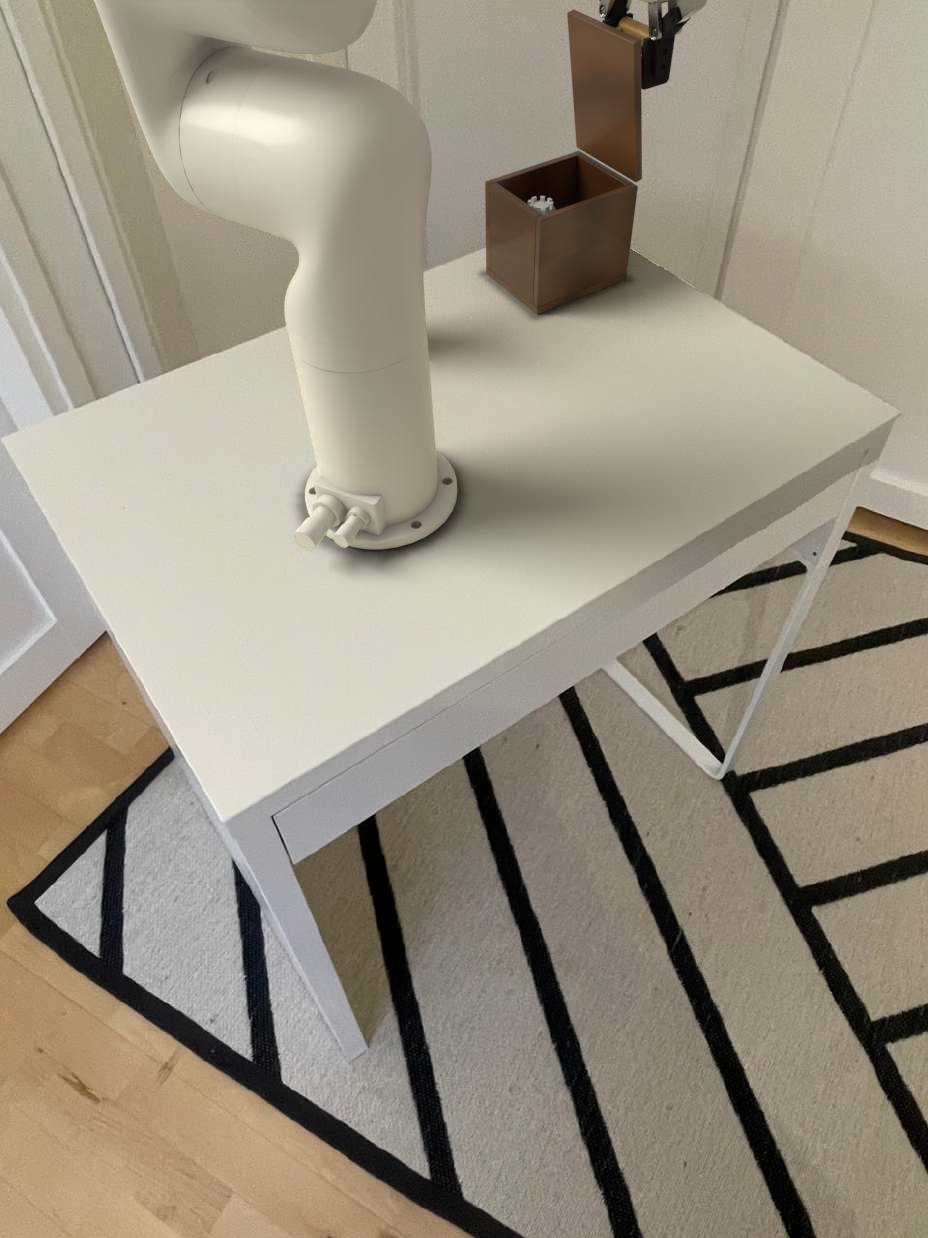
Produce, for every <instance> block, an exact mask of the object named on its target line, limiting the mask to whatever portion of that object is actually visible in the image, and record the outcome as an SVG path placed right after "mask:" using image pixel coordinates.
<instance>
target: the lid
mask: <svg viewBox="0 0 928 1238" xmlns="http://www.w3.org/2000/svg"><path fill="white" fill-rule="evenodd" d="M566 14H567V15H566V16H567V17H566V18H567V30H568V31H567V32H568V45H569V58H570V60H569V61H570V73H571V87H572V101H573V116H574V130H575V143H576V148H577V149H579V151H581V152H583V153H585V154H586V155H588V156H590V157H591V158H593V159H595V160H596V161H598V162H600V163H601V164H602V163H603V165H605V166H606V167H608V168H610V169H611V170H612V169H613V171H615V172H616V173H618V174H620V175H621V176H623V177H625V178H626V179H628V180H630V181H631V182H633V183H638V182H640V181H642V179H643V141H642V140H643V129H642V128H643V124H642V122H643V120H642V119H643V118H642V114H643V112H642V111H643V109H642V108H643V107H642V89H641V55H642V46H643V41H644V39H645V38H648V37H650V36H649V24H648V25H647V24H646V23H643V22H641V21H639V20H637V19H634V18H633V19H632V18H630V17H627V16H625V17H623V18H622V19H621V20H620V21H619V23H618V26H617V27H616V28H614V27H612V26H609V25H607V24H605V23H603V22H602V20H598V19H596V18H595V17H592V16H589V15H588V14H585V13H583V12H581V11H578V10H577V9H572V10H569V11H567V13H566Z"/></svg>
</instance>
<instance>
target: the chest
mask: <svg viewBox="0 0 928 1238" xmlns="http://www.w3.org/2000/svg"><path fill="white" fill-rule="evenodd" d="M638 188H639V186H638V185H637V184H635V182H633V181H632V180H630V179H628V178H627V177H625V176H623V175H622V174H620V173H618V172H617V171H615V170H612V168H610V167H608V166H607V165H605V164H602V162H600V161H598V160H597V159H595V158H593V157H592V156H590V155H588V154H587V153H585V152H583V151H581V150H577V151H573V152H570V153H567V154H564V155H561V156H557V157H555V158H552V159H549V160H546V161H543V162H540V163H536V164H534V165H530V166H528V167H525V168H523V169H522V168H521V169H519V170H515V171H513V172H510V173H507V174H504V175H501V176H497V177H494V178H492V179H491V178H490V179H489V180H485V182H484V193H485V194H484V197H485V198H484V201H485V203H484V205H485V273H486V275H487V276H489V278H491V279H492V280H494V281H495V282H496V283H497V284H499V285H500V286H501V287H502V288H503V289H505V290H506V291H507V292H508V293H510V294H511V295H512V296H514V298H516V299H517V300H518V301H520V302H521V303H522V304H523V305H525V306H526V307H527V308H528V309H530V310H531V311H532V312H533V313H535V314H536V315H539V314H542V313H545V312H547V311H550V310H552V309H555V308H558V307H560V306H563V305H565V304H568V303H570V302H573V301H575V300H577V299H580V298H583V297H585V296H588V295H591V294H593V293H595V292H598V291H600V290H603V289H605V288H608V287H610V286H613V285H615V284H618V283H621V282H622V281H625V280H627V277H628V268H629V261H630V253H631V246H632V238H633V228H634V222H635V214H636V207H637V206H636V205H637V197H638V190H639V189H638ZM535 196H536V197H537V201H539V200H540V196H545V201H547V199H548V198H549V197H550V198H551V199H552V202H553V206H554V207H555V209H556V211H553V212H550V213H547V214H545V215H542V214H541V213H540V212H538V211H537V210H535V209H534V208H532V207H531V206H529V205H528V200H531V198H532V197H535Z"/></svg>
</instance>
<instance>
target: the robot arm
mask: <svg viewBox="0 0 928 1238" xmlns="http://www.w3.org/2000/svg"><path fill="white" fill-rule="evenodd" d="M377 1H378V0H93V2H94V5H95V7H96V10H97V14H98V16H99V18H100V21H101V25H102V26H103V30H104V32H105V34H106V37H107V40H108V42H109V45H110V48H111V50H112V54H113V57H114V58H115V62H116V64H117V67H118V70H119V73H120V74H121V78H122V80H123V83H124V85H125V88H126V91H127V94H128V96H129V98H130V101H131V105H132V107H133V110H134V112H135V114H136V118H137V120H138V122H139V126H140V128H141V130H142V133H143V135H144V138H145V140H146V143H147V145H148V148H149V150H150V153H151V155H152V157H153V159H154V161H155V163H156V165H157V167H158V168H159V171H160V172H161V174H162V176H163V177H164V178H165V180H166V182H167V183H168V184H169V186H170V187H171V188H172V190H174V192H176V194H177V195H178V196H180V197H181V198H182V200H184V201H185V202H187V203H188V204H190V205H192V206H193V207H195V208H196V209H199V210H201V211H203V212H205V213H208V214H210V215H213V216H215V217H218V218H221V219H224V220H226V221H230V222H234V223H236V224H241V225H243V226H246V227H250V228H254V229H256V230H259V231H262V232H265V233H267V234H269V235H272V236H274V237H278V238H280V239H283V240H284V241H285V240H286V241H288V242H289V243H291V244H292V245H293V246H294V247H295V249H296V251H297V255H298V266H297V268H296V271H295V273H294V274H293V277H292V278H291V280H290V282H289V283H288V286H287V289H286V292H285V297H284V307H283V309H284V321H285V327H286V332H287V336H288V341H289V345H290V349H291V354H292V358H293V362H294V366H295V371H296V376H297V380H298V385H299V389H300V394H301V399H302V403H303V407H304V412H305V417H306V422H307V426H308V430H309V431H308V432H309V435H310V440H311V444H312V448H313V453H314V458H315V463H316V466H315V467H314V469H313V470H312V471H311V473H310V475H309V477H308V478H307V481H306V485H305V488H304V501H305V506H306V510H307V513H308V517H306V518H305V520H304V521H303V522H302V523H301V525H299V527H298V528H297V530H295V532H294V533H293V535H292V537H293V540H294V542H295V543H296V544H297V546H299V547H300V548H301V549H302V550H305V551H309V552H313V551H314V550H315V549H316V548H317V547H318V546H319V545H320V543H321V542H322V541H323V540H324V538H325V537H327V538H329V539H331V540H332V541H333V542H334V543H335V544H336V545H337V546H339V547H340V548H343V549H347V548H348V547H351V548H356V549H363V550H388V549H395V548H399V547H403V546H406V545H407V546H408V545H410V544H413V543H415V542H417V541H418V542H419V540H422V539H424V538H426V537H428V536H430V535H431V534H432V533H434V532H436V531H437V530H438V529H439V528H440V527H441V526H442V525H443V524H444V523H446V521H447V520H448V518H449V517H450V516H451V514H452V513H453V511H454V508H455V506H456V503H457V499H458V479H457V476H456V472H455V469H454V467H453V466H452V464H451V463H450V461H449V460H448V459H447V458H446V457H445V455H443V454H442V453H441V452H439V450H437V449H436V448H437V447H436V435H435V421H434V406H433V394H432V393H433V392H432V378H431V368H430V367H431V365H430V353H429V352H430V351H429V350H430V349H429V339H428V328H427V315H426V301H425V281H424V272H425V271H424V253H425V237H426V236H425V235H426V224H427V214H428V208H429V199H430V192H431V191H430V190H431V183H432V171H433V164H432V163H433V160H432V159H433V158H432V156H433V155H432V154H433V153H432V145H431V140H430V139H431V138H430V135H429V132H428V129H427V125H426V123H425V122H424V120H423V117H422V116H421V114H420V113H419V112H418V110H417V108H416V107H415V106H414V104H412V102H411V101H410V100H409V99H408V98H407V97H406V96H405V95H404V94H402V93H401V92H400V91H399V90H397V89H396V88H395V87H393V86H391V85H389V84H388V83H386V82H384V81H381V80H380V79H377V78H375V77H373V76H371V75H368V74H365V73H362V72H358V71H355V70H352V69H348V68H343V67H338V66H334V65H329V64H325V63H320V62H315V61H311V60H307V59H302V58H297V57H293V56H291V57H289V56H288V57H287V56H283V55H280V54H275V53H270V52H265V51H261V50H256V49H253V47H254V48H259V49H263V50H264V49H265V50H270V51H274V52H278V53H279V52H280V53H286V54H287V53H288V54H294V55H324V54H330V53H336V52H339V51H342V50H343V49H346V48H347V47H349V46H350V45H353V44H354V43H355V42H357V41H358V40H359V39H361V37H362V35H363V34H364V33H365V31H366V29H367V28H368V26H369V25H370V23H371V22H372V19H373V17H374V14H375V10H376V7H377ZM640 1H641V2H644V3H647V15H648V16H647V17H648V26H649V36H650V37H648V38H645V39H644V41H643V46H642V54H641V90H642V91H645V90H649V89H653V88H655V87H659V86H661V85H664V84H667V83H668V82H669V80H670V75H671V70H672V69H671V68H672V61H673V55H674V47H675V40H676V36H677V35H678V36H679V35H680V34H681V32H682V29H683V27H684V26H685V25H686V24H687V23H688V22H689V21H690V20H691V18H692V17H693V16H695V15H696V14H697V13H698V12H699V11H701V10H702V9H703V8H704V7H705V6H706V4H707V0H640ZM632 2H633V0H599V5H598V14H599V17H600V18H601V19H602V20H601V22H603V23H605V24H607V25H609V26H612V27H614V28H616V27H617V26H618V23H619V21H620V20H621V19H622V18H623V17H625V16H627V17H630V18H632V19H634V13H632V12H629V11H630V9H631V5H632ZM665 3H667V12H666V13H665V14H664V15H663V4H665Z"/></svg>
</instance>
